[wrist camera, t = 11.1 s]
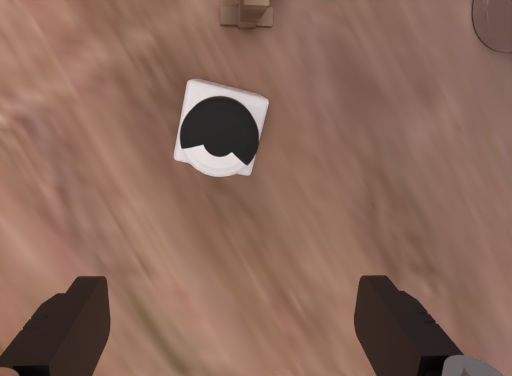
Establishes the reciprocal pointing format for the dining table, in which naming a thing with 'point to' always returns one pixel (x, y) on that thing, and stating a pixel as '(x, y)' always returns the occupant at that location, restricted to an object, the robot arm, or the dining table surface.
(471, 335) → the dining table surface
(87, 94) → the dining table surface
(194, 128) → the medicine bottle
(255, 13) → the screen
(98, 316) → the robot arm
